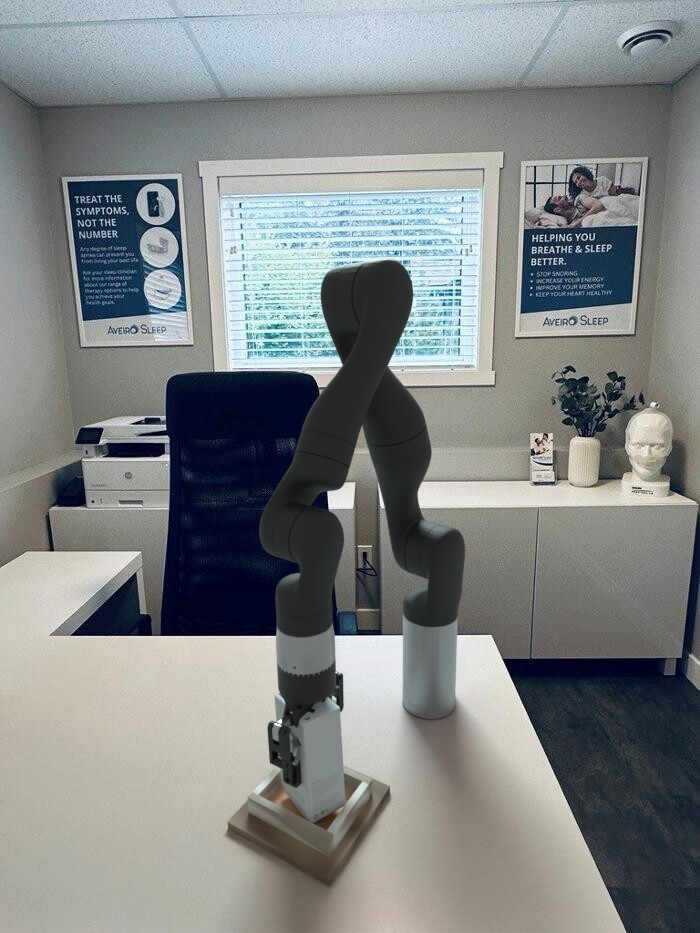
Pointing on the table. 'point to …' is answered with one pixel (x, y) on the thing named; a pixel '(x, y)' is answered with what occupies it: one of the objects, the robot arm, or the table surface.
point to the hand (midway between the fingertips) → (310, 763)
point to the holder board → (309, 824)
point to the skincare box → (317, 760)
